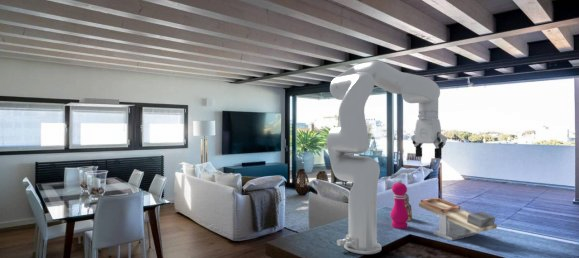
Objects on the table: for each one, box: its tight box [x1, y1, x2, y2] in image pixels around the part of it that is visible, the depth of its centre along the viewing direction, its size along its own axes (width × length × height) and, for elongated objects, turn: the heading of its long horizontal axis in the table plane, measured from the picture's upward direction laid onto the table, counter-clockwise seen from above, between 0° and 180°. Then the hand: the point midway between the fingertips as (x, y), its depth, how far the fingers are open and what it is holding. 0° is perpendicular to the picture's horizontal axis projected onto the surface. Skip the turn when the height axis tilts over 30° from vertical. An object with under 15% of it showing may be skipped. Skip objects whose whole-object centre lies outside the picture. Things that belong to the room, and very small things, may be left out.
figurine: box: [404, 192, 413, 222], centre depth 152 cm, size 7×7×12 cm
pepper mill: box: [390, 178, 409, 230], centre depth 140 cm, size 7×7×20 cm
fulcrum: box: [433, 209, 478, 241], centre depth 129 cm, size 15×8×8 cm, turn 118°
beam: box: [418, 197, 498, 234], centre depth 129 cm, size 12×25×4 cm, turn 28°
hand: (428, 157), depth 137 cm, fingers open, 9 cm apart
